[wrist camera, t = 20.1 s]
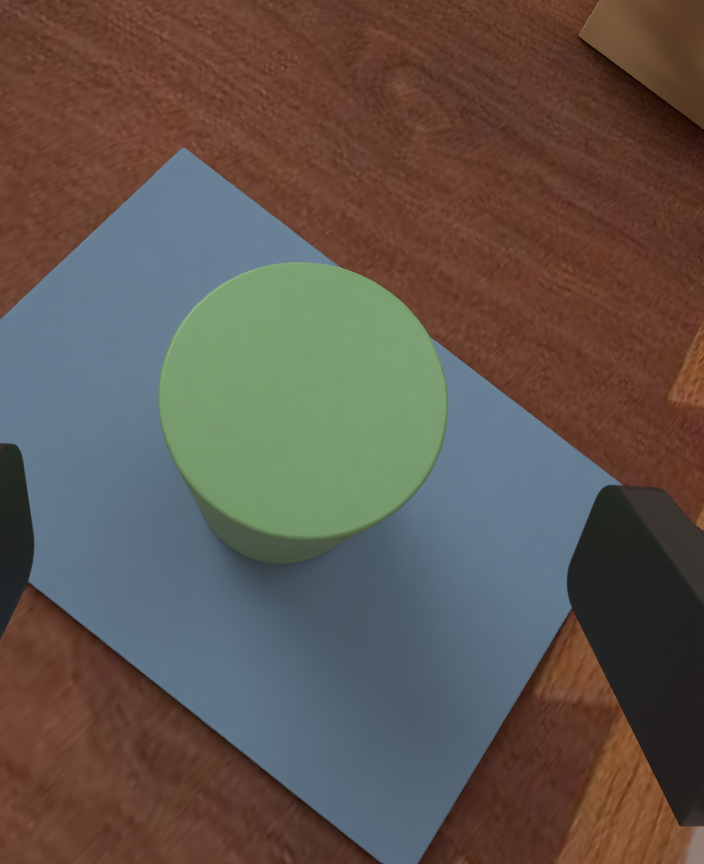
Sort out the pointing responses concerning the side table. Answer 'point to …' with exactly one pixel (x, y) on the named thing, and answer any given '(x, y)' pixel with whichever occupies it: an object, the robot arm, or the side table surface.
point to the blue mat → (293, 582)
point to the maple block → (655, 47)
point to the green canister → (301, 408)
